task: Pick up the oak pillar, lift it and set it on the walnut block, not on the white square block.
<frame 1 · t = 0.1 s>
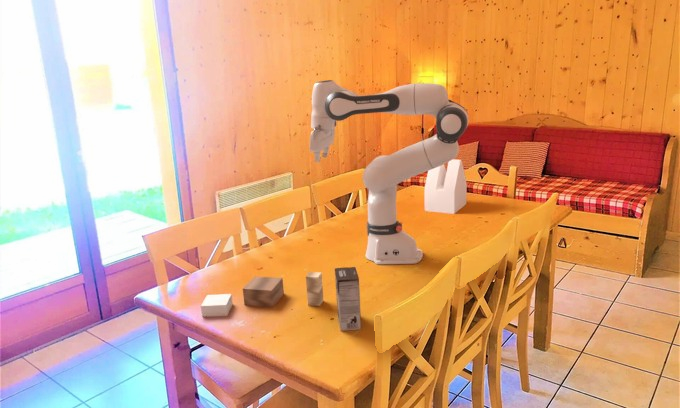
hand: (321, 159, 202), 39 cm above the table, tool pointing down, fingers open, 8 cm apart
walnut block: (264, 299, 174), on the table
coffee box: (349, 323, 156), on the table
white notched block: (445, 207, 267), on the table
white square block: (217, 311, 168), on the table
oak pillar: (315, 303, 169), on the table
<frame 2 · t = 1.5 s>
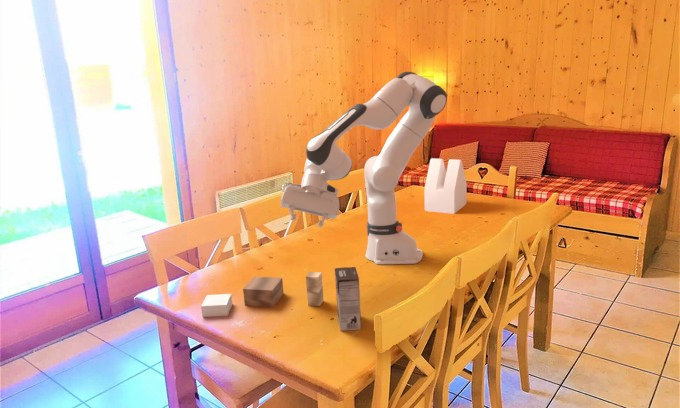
hand: (306, 223, 176), 23 cm above the table, tool tilted 45°, fingers open, 8 cm apart
nothing on the table moved.
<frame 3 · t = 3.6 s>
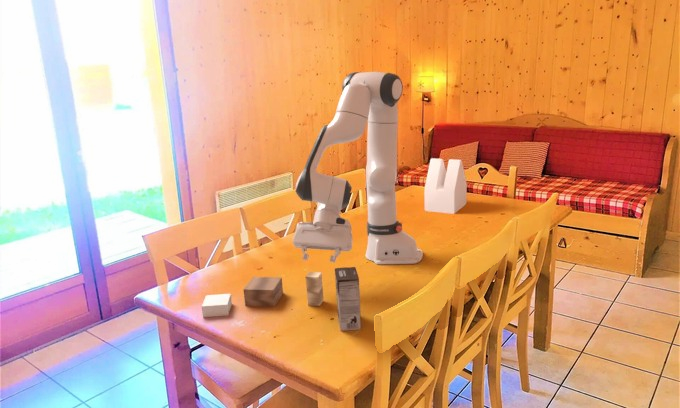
hand: (318, 260, 172), 12 cm above the table, tool tilted 45°, fingers open, 8 cm apart
nothing on the table moved.
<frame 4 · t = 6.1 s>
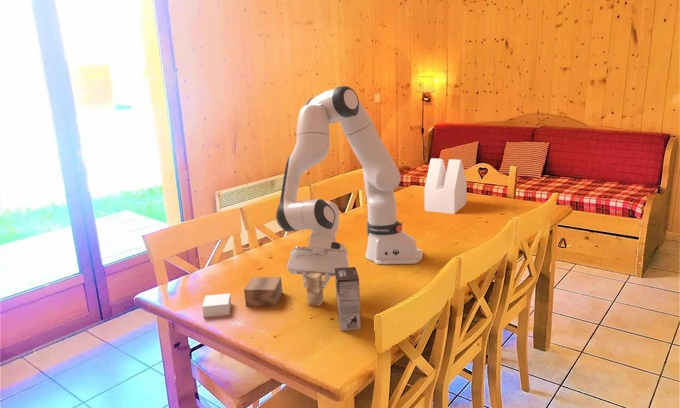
hand: (314, 287, 167), 6 cm above the table, tool tilted 45°, fingers closed on oak pillar, 4 cm apart
oak pillar: (315, 303, 169), on the table, touching gripper
everything else where it was.
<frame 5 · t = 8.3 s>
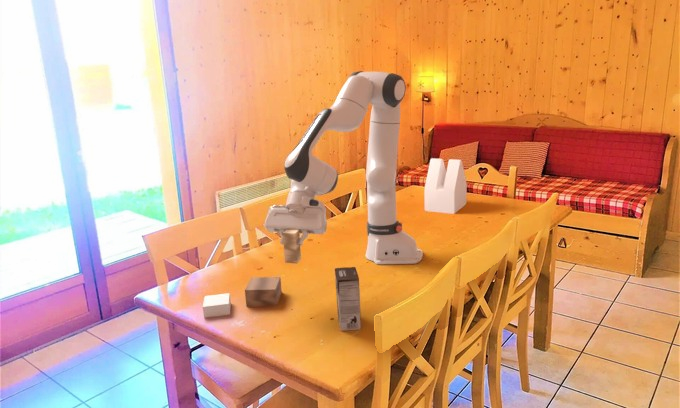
hand: (291, 244, 165), 20 cm above the table, tool tilted 45°, fingers closed on oak pillar, 4 cm apart
oak pillar: (293, 260, 167), point 15 cm above the table, touching gripper
everything else where it was.
when the fingers open (13 cm above the table, at t = 11.0 s): oak pillar drops 1 cm, point 6 cm above the table.
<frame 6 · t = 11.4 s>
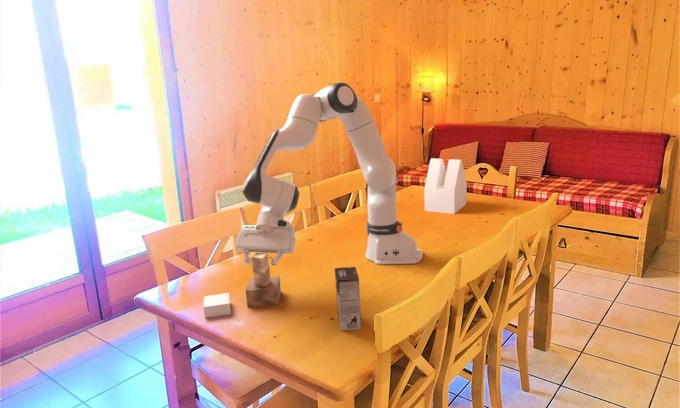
hand: (260, 263, 170), 13 cm above the table, tool tilted 45°, fingers open, 8 cm apart
oak pillar: (262, 283, 172), point 6 cm above the table
everything else where it was.
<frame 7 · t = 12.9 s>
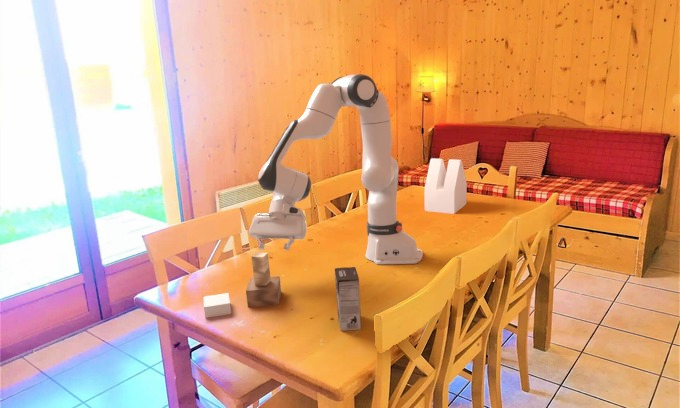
hand: (273, 249, 179), 14 cm above the table, tool tilted 45°, fingers open, 8 cm apart
walnut block: (264, 299, 174), on the table, touching oak pillar
oak pillar: (262, 283, 173), point 6 cm above the table, touching walnut block
everything else where it was.
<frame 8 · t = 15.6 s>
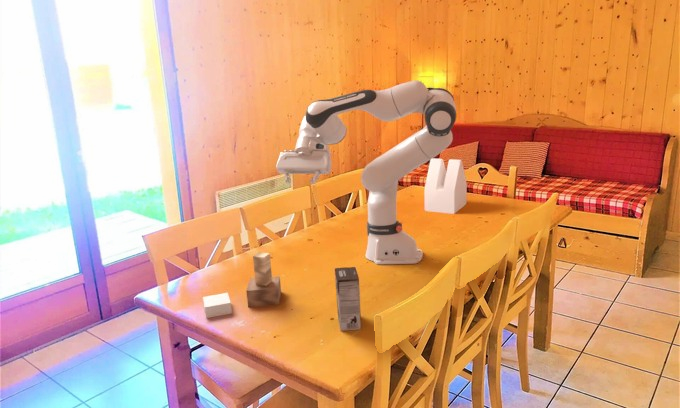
hand: (300, 182, 185), 34 cm above the table, tool tilted 45°, fingers open, 8 cm apart
nothing on the table moved.
at the end: oak pillar 0.2 cm from the walnut block (horizontally); oak pillar point 5.8 cm above the table; oak pillar tilted 2° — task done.
